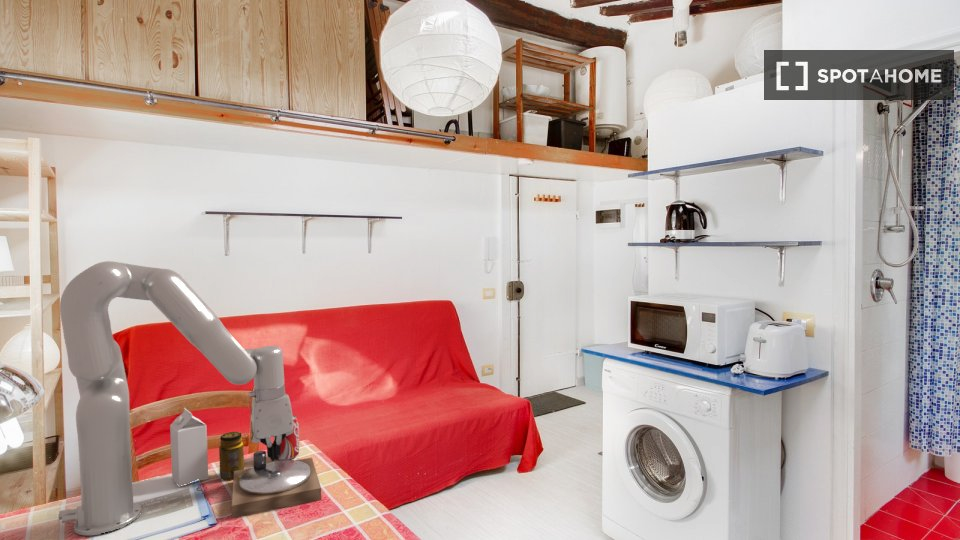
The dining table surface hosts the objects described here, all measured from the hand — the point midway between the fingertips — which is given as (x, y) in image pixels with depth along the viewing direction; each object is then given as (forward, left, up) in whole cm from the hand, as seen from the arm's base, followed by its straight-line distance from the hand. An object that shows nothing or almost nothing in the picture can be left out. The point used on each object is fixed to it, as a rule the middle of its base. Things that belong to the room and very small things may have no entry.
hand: (274, 458), depth 137 cm
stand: (0, -7, -6) cm, 9 cm away
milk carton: (-21, +10, -6) cm, 24 cm away
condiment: (-11, +7, -6) cm, 14 cm away
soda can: (+4, +14, -6) cm, 16 cm away
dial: (0, -7, -3) cm, 8 cm away
